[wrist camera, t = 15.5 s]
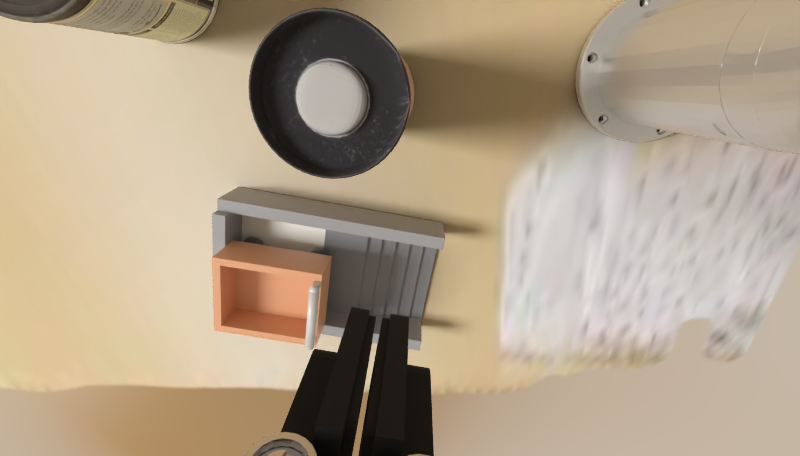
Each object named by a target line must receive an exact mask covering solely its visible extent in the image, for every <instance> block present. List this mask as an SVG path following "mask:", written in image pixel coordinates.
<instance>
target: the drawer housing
mask: <svg viewBox="0 0 800 456" xmlns="http://www.w3.org/2000/svg"><path fill="white" fill-rule="evenodd" d="M212 228H213V256H214V255H215V254H217V253H218V252H219V251H220V250H221V249H223V248H224V247H225V246H226V245H227V244H229V243H230V242H231V241H232V240H235V241H242V242H243V241H244V240H245V239H246V238H249V237H257V238H259V239H260V240H262V242H263V243H264V245H266V246H273V247H279V248H285V249H291V250H297V251H304V252H310V251H311V250H313V249H315V248H324V249H326V250H327V251H328V252H329V254H330V256H332V259H331V269H330V280H329V290H328V300H327V310H326V320H325V324H324V327H323V329H322V332H321V334H326V335H332V336H337V337H342V336H343V333H344V329H345V326H346V323H347V320H348V316H349V313H350V310H351V307H355V308H361V309H367V310H370V314H369V315H372V316H376V322H375V328H374V333H373V339H372V342H373V343H378V339H379V333H380V328H381V322H382V317H383V318H390V314H396V315H402V316H408V317H409V334H408V349H414V350H420V345H421V317H422V313H423V308H424V304H425V300H426V295H427V291H428V286H429V282H430V277H431V273H432V268H433V264H434V260H435V255H436V251H437V249H441V250H443V246H444V242H445V234H444V229H443V223H442V222H437V221H431V220H425V219H420V218H414V217H408V216H402V215H397V214H391V213H385V212H380V211H374V210H368V209H363V208H357V207H351V206H345V205H340V204H334V203H328V202H323V201H317V200H311V199H306V198H300V197H294V196H289V195H283V194H277V193H271V192H266V191H260V190H254V189H249V188H243V187H238V188H236V189H234V190H232V191H230V192H229V193H227V194H225V195H223V196H222V197H220V198H218V211H216V212H215V213H213V214H212Z"/></svg>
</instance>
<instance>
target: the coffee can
mask: <svg viewBox="0 0 800 456" xmlns="http://www.w3.org/2000/svg"><path fill="white" fill-rule="evenodd" d="M218 1H219V0H0V16H3V17H6V18H9V19H13V20H18V21H24V22H33V23H51V24H57V25H64V26H70V27H76V28H83V29H90V30H96V31H102V32H108V33H114V34H122V35H128V36H134V37H140V38H146V39H152V40H158V41H161V42H164V43H183V42H187V41H190V40H192V39H194V38H196V37H198V36H199V35H200V34H201V33H203V32H204V31H205V30H206V28H207V27H208V26H209V25H210V23H211V21H212V20H213V18H214V16H215V13H216V10H217V6H218Z"/></svg>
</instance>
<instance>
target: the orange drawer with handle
mask: <svg viewBox="0 0 800 456" xmlns="http://www.w3.org/2000/svg"><path fill="white" fill-rule="evenodd" d="M331 259H332V256H330V254H329V252H328V251H327V250H326V249H324V248H315V249H313V250H311V251H310V252H304V251H297V250H291V249H285V248H279V247H273V246H266V245H264V243H263V242H262V240H260V239H259V238H257V237H249V238H246V239H245V240H244V241H243V242H242V241H235V240H232V241H231V242H230V243H229V244H227V245H226V246H225V247H224V248H223V249H221V250H220V251H219V252H218V253H217V254H215V255H214V256H213V257H212V271H213V304H214V330H215V331H221V332H227V333H233V334H240V335H246V336H252V337H259V338H265V339H271V340H278V341H284V342H290V343H297V344H303V345H305V348H306V349H307V350H312V349H313V348H314V346H315V347H316V345H317V342H318V340H319V337H320V334H321V332H322V329H323V327H324V324H325V320H326V310H327V300H328V290H329V280H330V269H331Z"/></svg>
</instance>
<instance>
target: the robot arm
mask: <svg viewBox="0 0 800 456" xmlns="http://www.w3.org/2000/svg"><path fill="white" fill-rule="evenodd" d="M640 1H641V2H642V5H641V7H640V4H639V3H640ZM588 56H590V57H591V59H590V61H589V62H588V61H587V57H588ZM576 93H577V98H578V102H579V105H580V107H581V109H582V112H583V114H584V115H585V117H586V118H587V119H588V121H589V122H590V123H591V124H592V125H593V126H594V127H595V128H596V129H597V130H599V131H600V132H602V133H604V134H606V135H608V136H609V137H613V138H616V139H619V140H624V141H629V142H646V141H651V140H656V139H660V138H663V137H665V136H668V135H671V134H673V133H675V132H676V133H681V134H687V135H692V136H698V137H703V138H708V139H714V140H719V141H725V142H730V143H735V144H741V145H746V146H752V147H757V148H762V149H768V150H776V151H781V152H787V153H793V154H800V0H625V1H623V2H622V3H620V4H619V5H617V6H616V7H614V8H613V9H612V10H611V11H610V12H609V13H608V14H606V15H605V16H604V17H603V18H602V19H601V20H600V22H599V23H598V24H597V25H596V27H595V28H594V29H593V31H592V32H591V34H590V35H589V37H588V39H587V41H586V43H585V44H584V46H583V49H582V52H581V54H580V57H579V60H578V65H577V71H576ZM600 116H601V120H600V121H598V120H599V117H600ZM657 129H658V130H657ZM369 314H370V310H367V309H361V308H355V307H351V310H350V313H349V316H348V320H347V323H346V326H345V329H344V333H343V336H342V339H341V343H340V346H339V349H338V352H337V353H336V352H330V351H324V350H318V349H315V350H314V351H313V353H312V355H311V358H310V360H309V363H308V365H307V368H306V370H305V373H304V375H303V378H302V380H301V383H300V385H299V388H298V390H297V393H296V395H295V398H294V400H293V403H292V406H291V408H290V411H289V413H288V415H287V418H286V421H285V423H284V426H283V428H282V431H281V433H274V434H271V435H269V436H266V437H263V438H262V439H260V440H259V441H257V442H256V443H255V444H253V445H252V447H251V448H250V449H249V450H248V451H247V452H246V454H245V455H244V456H352V452H353V446H354V441H355V435H356V430H357V425H358V419H359V413H360V408H361V402H362V397H363V391H364V386H365V380H366V374H367V368H368V362H369V357H370V351H371V345H372V339H373V333H374V328H375V322H376V316H372V315H369ZM408 334H409V317H408V316H402V315H396V314H390V318H383V317H382V322H381V328H380V333H379V339H378V345H377V350H376V356H375V361H374V367H373V372H372V378H371V383H370V389H369V395H368V401H367V407H366V413H365V419H364V425H363V431H362V438H361V444H360V450H359V456H434V454H433V429H432V403H431V378H430V369H429V368H424V367H418V366H413V365H407V358H408Z"/></svg>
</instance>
